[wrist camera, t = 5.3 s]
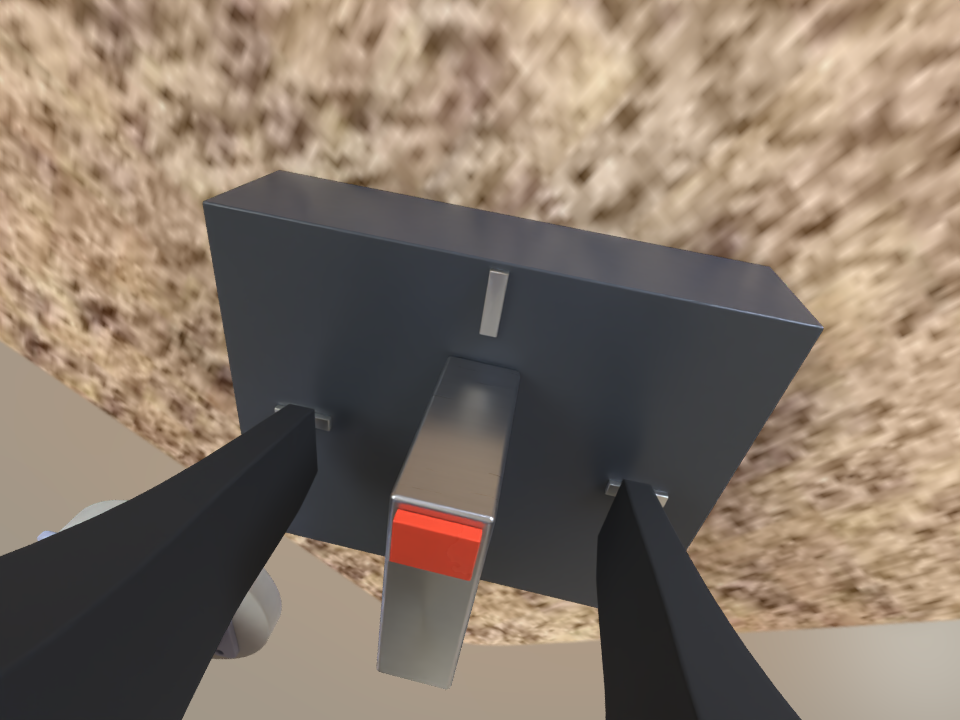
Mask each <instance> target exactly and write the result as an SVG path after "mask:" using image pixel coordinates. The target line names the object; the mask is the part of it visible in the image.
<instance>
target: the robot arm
mask: <svg viewBox="0 0 960 720" xmlns="http://www.w3.org/2000/svg"><path fill="white" fill-rule="evenodd" d="M317 472H318V465H317V446H316V428H315V409H312V408H307V407H303V406H298V405H294V404H288V405H287V406H285V407H283V408H282V409H280V410H279V411H277V412H275V413H274V414H272V415H271V416H269V417H268V418H266V419H265V420H263V421H262V422H260V423H259V424H257V425H256V426H254V427H252V428H251V429H249V430H248V431H246V432H245V433H243V434H242V435H240V436H239V437H237V438H236V439H234V440H233V441H231V442H229V443H228V444H226V445H225V446H223V447H221V448H220V449H218V450H217V451H215V452H213V453H212V454H210V455H209V456H207V457H205V458H204V459H202V460H201V461H199V462H197V463H196V464H194V465H192V466H190V467H189V468H187V469H185V470H183V471H182V472H180V473H178V474H177V475H175V476H173V477H171V478H170V479H168V480H166V481H164V482H163V483H161V484H159V485H157V486H156V487H154V488H152V489H150V490H148V491H146V492H144V493H143V494H141V495H138V496H136V497H135V498H133V499H131V500H129V501H127V502H125V503H122V504H120V505H118V506H116V507H114V508H112V509H110V510H108V511H106V512H104V513H102V514H100V515H98V516H95V517H93V518H91V519H89V520H87V521H84V522H82V523H80V524H77V525H75V526H73V527H70V528H68V529H66V530H63V531H61V532H59V533H57V532H52V531H43V532H42V533H41V534H40V535H39V536H38V537H37V540H38V542H36V543H33V544H31V545H28V546H26V547H23V548H21V549H18V550H15V551H13V552H10V553H8V554H5V555H3V556H0V720H182V718H183V716H184V714H185V712H186V709H187V707H188V705H189V703H190V701H191V699H192V697H193V695H194V693H195V691H196V689H197V687H198V685H199V683H200V681H201V679H202V677H203V675H204V673H205V671H206V669H207V667H208V665H209V663H210V661H211V659H212V657H213V655H214V654H215V655H218V656H222V657H226V658H231V659H233V658H236V657H237V655H238V653H239V651H240V650H239V646H238V642H237V638H236V634H235V630H234V626H233V622H232V618H233V616H234V614H235V613H236V611H237V609H238V607H239V606H240V604H241V602H242V601H243V599H244V597H245V596H246V594H247V592H248V591H249V589H250V588H251V586H252V585H253V583H254V581H255V580H256V578H257V577H258V575H259V574H260V572H261V570H262V569H263V567H264V566H265V564H266V563H267V561H268V559H269V558H270V556H271V554H272V553H273V552H274V550H275V548H276V547H277V545H278V544H279V542H280V541H281V539H282V537H283V536H284V534H285V533H286V531H287V529H288V528H289V526H290V525H291V523H292V521H293V520H294V518H295V517H296V515H297V513H298V512H299V510H300V508H301V506H302V504H303V502H304V500H305V498H306V496H307V494H308V492H309V489H310V487H311V485H312V483H313V481H314V478H315V476H316V474H317ZM596 587H597V601H598V614H599V626H600V638H601V649H602V662H603V674H604V686H605V708H606V720H801V719H800V718H799V716H798V715H797V714H796V712H795V711H794V710H793V709H792V708H791V706H790V705H789V704H788V703H787V701H786V700H785V699H784V698H783V696H782V695H781V694H780V692H779V691H778V690H777V689H776V687H775V686H774V685H773V683H772V682H771V681H770V679H769V678H768V677H767V675H766V674H765V672H764V671H763V670H762V668H761V667H760V666H759V664H758V663H757V662H756V660H755V659H754V658H753V656H752V655H751V653H750V652H749V651H748V649H747V648H746V646H745V645H744V643H743V642H742V641H741V639H740V638H739V636H738V635H737V633H736V632H735V630H734V629H733V627H732V626H731V624H730V623H729V621H728V619H727V618H726V616H725V615H724V613H723V612H722V610H721V609H720V607H719V605H718V604H717V602H716V601H715V599H714V597H713V596H712V594H711V593H710V591H709V589H708V588H707V586H706V584H705V583H704V581H703V579H702V578H701V576H700V574H699V572H698V571H697V569H696V567H695V566H694V564H693V562H692V560H691V559H690V557H689V555H688V553H687V552H686V550H685V548H684V546H683V545H682V543H681V541H680V539H679V537H678V535H677V533H676V532H675V530H674V528H673V526H672V524H671V522H670V520H669V518H668V517H667V515H666V513H665V511H664V509H663V507H662V505H661V503H660V501H659V499H658V497H657V495H656V493H655V492H654V490H653V488H652V486H651V485H649V484H644V483H640V482H635V481H631V480H627V479H623V480H622V483H621V485H620V487H619V489H618V492H617V494H616V496H615V498H614V501H613V503H612V505H611V507H610V510H609V512H608V514H607V516H606V519H605V521H604V523H603V525H602V528H601V530H600V532H599V534H598V540H597V563H596Z"/></svg>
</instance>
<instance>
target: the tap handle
mask: <svg viewBox="0 0 960 720" xmlns="http://www.w3.org/2000/svg"><path fill="white" fill-rule="evenodd" d="M519 380H520V374H519V372H518V371H515V370H510V369H506V368H502V367H497V366H493V365H488V364H484V363H479V362H475V361H470V360H466V359H461V358H457V357H452V356H451V357H448V358H447V360H446V362H445V365H444V367H443V370H442V372H441V374H440V377H439V379H438V382H437V384H436V386H435V389H434V391H433V394H432V396H431V398H430V401H429V403H428V406H427V408H426V410H425V413H424V415H423V418H422V420H421V422H420V425H419V427H418V430H417V432H416V434H415V437H414V439H413V442H412V444H411V446H410V449H409V451H408V454H407V456H406V458H405V461H404V463H403V466H402V468H401V470H400V473H399V475H398V478H397V480H396V482H395V485H394V487H393V490H392V492H391V494H390V502H389V514H388V527H387V540H386V553H385V565H384V578H383V591H382V604H381V617H380V629H379V630H380V631H379V643H378V656H377V670H378V671H379V672H382V673H386V674H389V675H393V676H397V677H401V678H405V679H409V680H413V681H416V682H420V683H424V684H428V685H431V686H435V687H439V688H443V689H449V688H450V687H451V685H452V681H453V677H454V674H455V670H456V666H457V662H458V658H459V655H460V651H461V648H462V644H463V640H464V636H465V633H466V629H467V625H468V621H469V618H470V614H471V610H472V606H473V603H474V599H475V595H476V592H477V588H478V584H479V580H480V577H481V573H482V569H483V565H484V562H485V558H486V554H487V550H488V547H489V543H490V539H491V536H492V532H493V528H494V524H495V520H496V515H497V509H498V503H499V497H500V491H501V485H502V479H503V474H504V468H505V462H506V456H507V450H508V444H509V438H510V433H511V427H512V421H513V415H514V409H515V403H516V398H517V392H518V386H519Z"/></svg>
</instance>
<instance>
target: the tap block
mask: <svg viewBox="0 0 960 720" xmlns="http://www.w3.org/2000/svg"><path fill="white" fill-rule="evenodd" d="M203 209H204V215H205V221H206V227H207V233H208V239H209V245H210V251H211V257H212V262H213V268H214V274H215V280H216V286H217V292H218V298H219V304H220V310H221V316H222V322H223V328H224V334H225V340H226V346H227V352H228V358H229V364H230V370H231V376H232V381H233V387H234V393H235V399H236V405H237V411H238V417H239V423H240V429H241V435H242V434H243V433H245V432H246V431H248V430H249V429H251V428H252V427H254V426H256V425H257V424H259V423H260V422H262V421H263V420H265V419H266V418H268V417H269V416H271V415H272V414H274V413H275V412H277V411H279V410H280V409H282V408H283V407H285V406H287V405H288V404H294V405H298V406H303V407H307V408H312V409H315V428H316V446H317V465H318V472H317V474H316V476H315V478H314V481H313V483H312V485H311V487H310V489H309V492H308V494H307V496H306V498H305V500H304V502H303V504H302V506H301V508H300V510H299V512H298V513H297V515H296V517H295V518H294V520H293V521H292V523H291V525H290V526H289V528H288V529H287V531H286V533H290V534H294V535H298V536H302V537H306V538H311V539H315V540H319V541H323V542H327V543H331V544H335V545H339V546H344V547H348V548H352V549H356V550H360V551H364V552H368V553H373V554H377V555H381V556H385V553H386V540H387V527H388V514H389V502H390V494H391V492H392V490H393V487H394V485H395V482H396V480H397V478H398V475H399V473H400V470H401V468H402V466H403V463H404V461H405V458H406V456H407V454H408V451H409V449H410V446H411V444H412V442H413V439H414V437H415V434H416V432H417V430H418V427H419V425H420V422H421V420H422V418H423V415H424V413H425V410H426V408H427V406H428V403H429V401H430V398H431V396H432V394H433V391H434V389H435V386H436V384H437V382H438V379H439V377H440V374H441V372H442V370H443V367H444V365H445V362H446V360H447V358H448V357H451V356H452V357H457V358H461V359H466V360H470V361H475V362H479V363H484V364H488V365H493V366H497V367H502V368H506V369H510V370H515V371H518V372H519V374H520V380H519V386H518V392H517V398H516V403H515V409H514V415H513V421H512V427H511V433H510V438H509V444H508V450H507V456H506V462H505V468H504V474H503V479H502V485H501V491H500V497H499V503H498V509H497V515H496V520H495V524H494V528H493V532H492V536H491V539H490V543H489V547H488V550H487V554H486V558H485V562H484V565H483V569H482V573H481V577H480V580H484V581H488V582H492V583H496V584H500V585H505V586H509V587H513V588H517V589H521V590H525V591H529V592H533V593H538V594H542V595H546V596H550V597H554V598H558V599H562V600H566V601H571V602H575V603H579V604H583V605H587V606H591V607H595V608H598V601H597V587H596V563H597V540H598V534H599V532H600V530H601V528H602V525H603V523H604V521H605V519H606V516H607V514H608V512H609V510H610V507H611V505H612V503H613V501H614V498H615V496H616V494H617V492H618V489H619V487H620V485H621V483H622V480H623V479H627V480H631V481H635V482H640V483H644V484H649V485H651V486H652V488H653V490H654V492H655V493H656V495H657V497H658V499H659V501H660V503H661V505H662V507H663V509H664V511H665V513H666V515H667V517H668V518H669V520H670V522H671V524H672V526H673V528H674V530H675V532H676V533H677V535H678V537H679V539H680V541H681V543H682V545H683V546H684V548H685V550H687V548H688V547H689V545H690V544H691V542H692V540H693V539H694V537H695V536H696V534H697V532H698V531H699V529H700V528H701V526H702V524H703V523H704V521H705V519H706V518H707V516H708V515H709V513H710V511H711V510H712V508H713V507H714V505H715V503H716V502H717V500H718V499H719V497H720V495H721V494H722V492H723V490H724V489H725V487H726V486H727V484H728V482H729V481H730V479H731V478H732V476H733V474H734V473H735V471H736V470H737V468H738V466H739V465H740V463H741V461H742V460H743V458H744V457H745V455H746V453H747V452H748V450H749V449H750V447H751V445H752V444H753V442H754V441H755V439H756V437H757V436H758V434H759V432H760V431H761V429H762V428H763V426H764V424H765V423H766V421H767V420H768V418H769V416H770V415H771V413H772V412H773V410H774V408H775V407H776V405H777V403H778V402H779V400H780V399H781V397H782V395H783V394H784V392H785V391H786V389H787V387H788V386H789V384H790V383H791V381H792V379H793V378H794V376H795V374H796V373H797V371H798V370H799V368H800V366H801V365H802V363H803V362H804V360H805V358H806V357H807V355H808V354H809V352H810V350H811V349H812V347H813V345H814V344H815V342H816V341H817V339H818V337H819V336H820V334H821V333H822V331H823V326H822V325H821V324H820V323H819V322H818V320H817V319H816V318H815V317H814V316H813V315H812V314H811V313H810V311H809V310H808V309H807V308H806V307H805V306H804V305H803V304H802V302H801V301H800V300H799V299H798V298H797V297H796V296H795V295H794V293H793V292H792V291H791V290H790V289H789V288H788V287H787V286H786V284H785V283H784V282H783V281H782V280H781V279H780V278H779V277H778V275H777V274H776V273H775V272H774V271H773V270H772V269H771V268H770V267H767V266H762V265H757V264H752V263H747V262H742V261H737V260H732V259H727V258H722V257H717V256H712V255H707V254H702V253H696V252H691V251H686V250H681V249H676V248H671V247H666V246H661V245H656V244H651V243H646V242H641V241H636V240H631V239H626V238H621V237H615V236H610V235H605V234H600V233H595V232H590V231H585V230H580V229H575V228H570V227H565V226H560V225H555V224H550V223H545V222H540V221H534V220H529V219H524V218H519V217H514V216H509V215H504V214H499V213H494V212H489V211H484V210H479V209H474V208H469V207H464V206H459V205H453V204H448V203H443V202H438V201H433V200H428V199H423V198H418V197H413V196H408V195H403V194H398V193H393V192H388V191H383V190H378V189H372V188H367V187H362V186H357V185H352V184H347V183H342V182H337V181H332V180H327V179H322V178H317V177H312V176H307V175H302V174H297V173H292V172H286V171H281V170H278V171H276V172H273V173H271V174H268V175H266V176H264V177H261V178H259V179H256V180H254V181H251V182H249V183H246V184H244V185H242V186H239V187H237V188H234V189H232V190H229V191H227V192H224V193H222V194H220V195H217V196H215V197H212V198H210V199H207V200H205V201H203Z"/></svg>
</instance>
